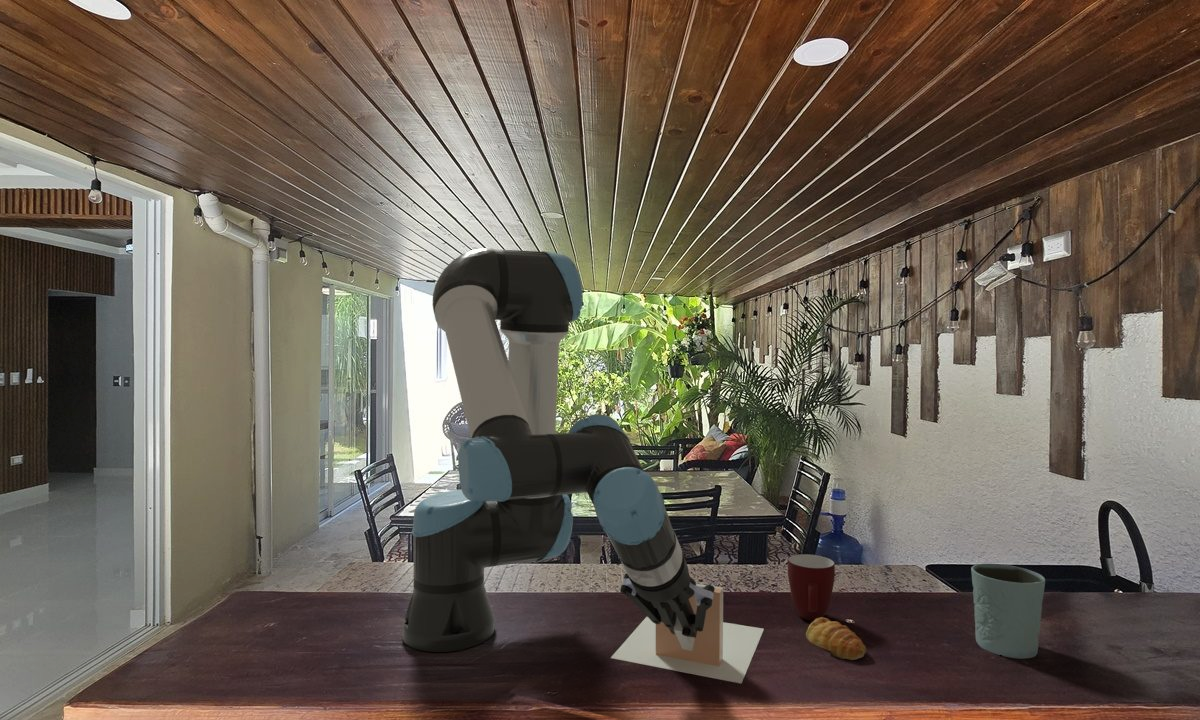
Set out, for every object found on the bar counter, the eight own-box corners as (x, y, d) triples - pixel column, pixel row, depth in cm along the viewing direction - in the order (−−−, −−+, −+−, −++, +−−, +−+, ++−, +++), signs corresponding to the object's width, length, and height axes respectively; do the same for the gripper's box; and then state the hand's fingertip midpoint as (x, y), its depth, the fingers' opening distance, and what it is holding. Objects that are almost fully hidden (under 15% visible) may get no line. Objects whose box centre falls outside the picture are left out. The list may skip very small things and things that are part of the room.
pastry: (876, 657, 104) (876, 633, 104) (846, 667, 100) (846, 642, 100) (829, 634, 112) (829, 612, 112) (800, 643, 109) (800, 620, 109)
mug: (843, 632, 112) (843, 574, 112) (794, 630, 113) (794, 572, 113) (828, 608, 123) (829, 554, 122) (784, 606, 124) (784, 553, 123)
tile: (655, 654, 103) (655, 583, 103) (660, 647, 105) (660, 578, 105) (719, 666, 99) (719, 593, 99) (722, 659, 101) (723, 587, 101)
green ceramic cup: (963, 646, 107) (963, 572, 107) (979, 627, 114) (980, 558, 114) (1037, 667, 100) (1038, 588, 100) (1049, 645, 107) (1050, 571, 107)
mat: (610, 661, 102) (610, 657, 102) (651, 614, 120) (651, 610, 120) (741, 687, 94) (741, 683, 94) (764, 632, 112) (764, 628, 112)
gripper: (598, 581, 84) (641, 658, 99) (698, 597, 78) (728, 675, 94) (614, 529, 88) (653, 610, 104) (710, 540, 83) (736, 623, 99)
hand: (689, 640), depth 99 cm, fingers closed
